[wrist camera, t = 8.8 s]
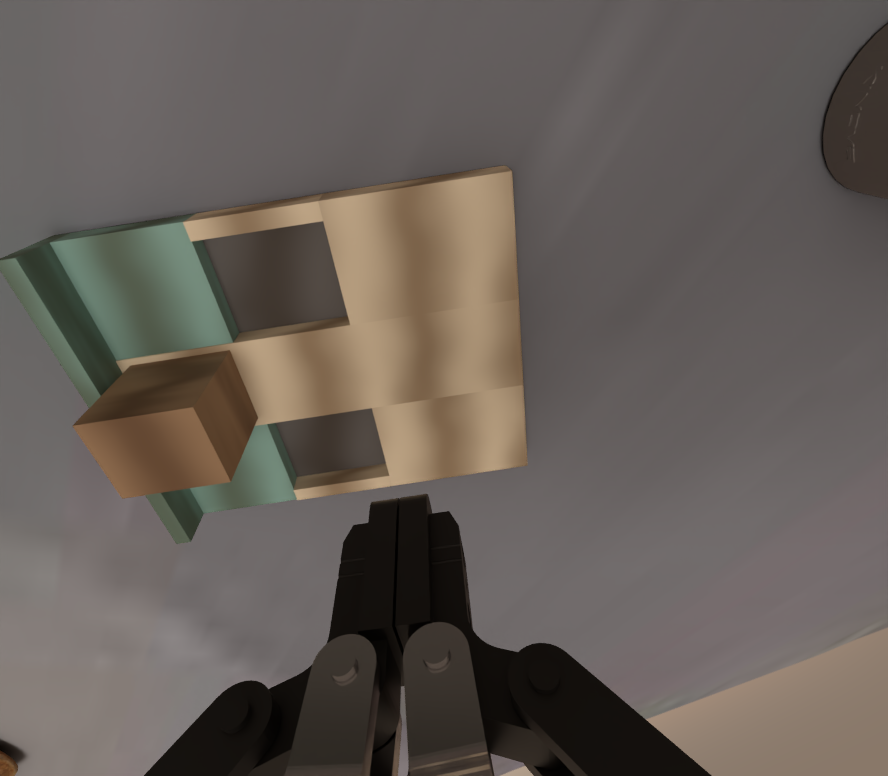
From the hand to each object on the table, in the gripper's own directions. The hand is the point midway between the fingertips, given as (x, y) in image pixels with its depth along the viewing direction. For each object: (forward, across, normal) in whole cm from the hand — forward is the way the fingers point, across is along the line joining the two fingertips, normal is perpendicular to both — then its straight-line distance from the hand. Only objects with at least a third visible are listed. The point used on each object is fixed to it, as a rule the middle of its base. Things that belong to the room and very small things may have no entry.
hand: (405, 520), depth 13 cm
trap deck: (+19, +6, +5) cm, 21 cm away
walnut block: (+17, +14, +4) cm, 22 cm away
